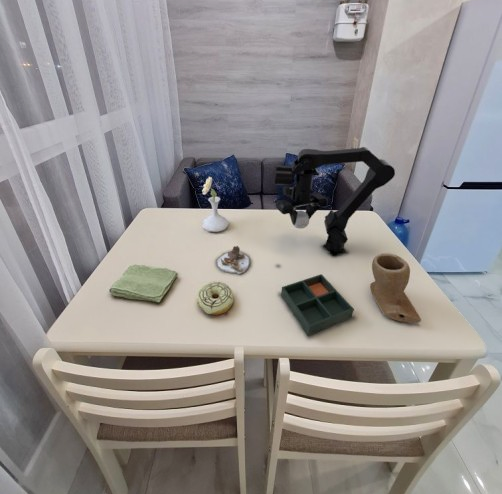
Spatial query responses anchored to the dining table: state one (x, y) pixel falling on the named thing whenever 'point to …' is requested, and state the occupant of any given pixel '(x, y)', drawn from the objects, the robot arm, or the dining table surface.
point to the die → (302, 220)
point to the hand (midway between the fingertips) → (300, 223)
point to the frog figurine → (233, 261)
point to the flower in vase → (213, 211)
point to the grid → (316, 304)
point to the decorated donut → (217, 304)
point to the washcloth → (143, 283)
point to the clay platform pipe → (392, 287)
